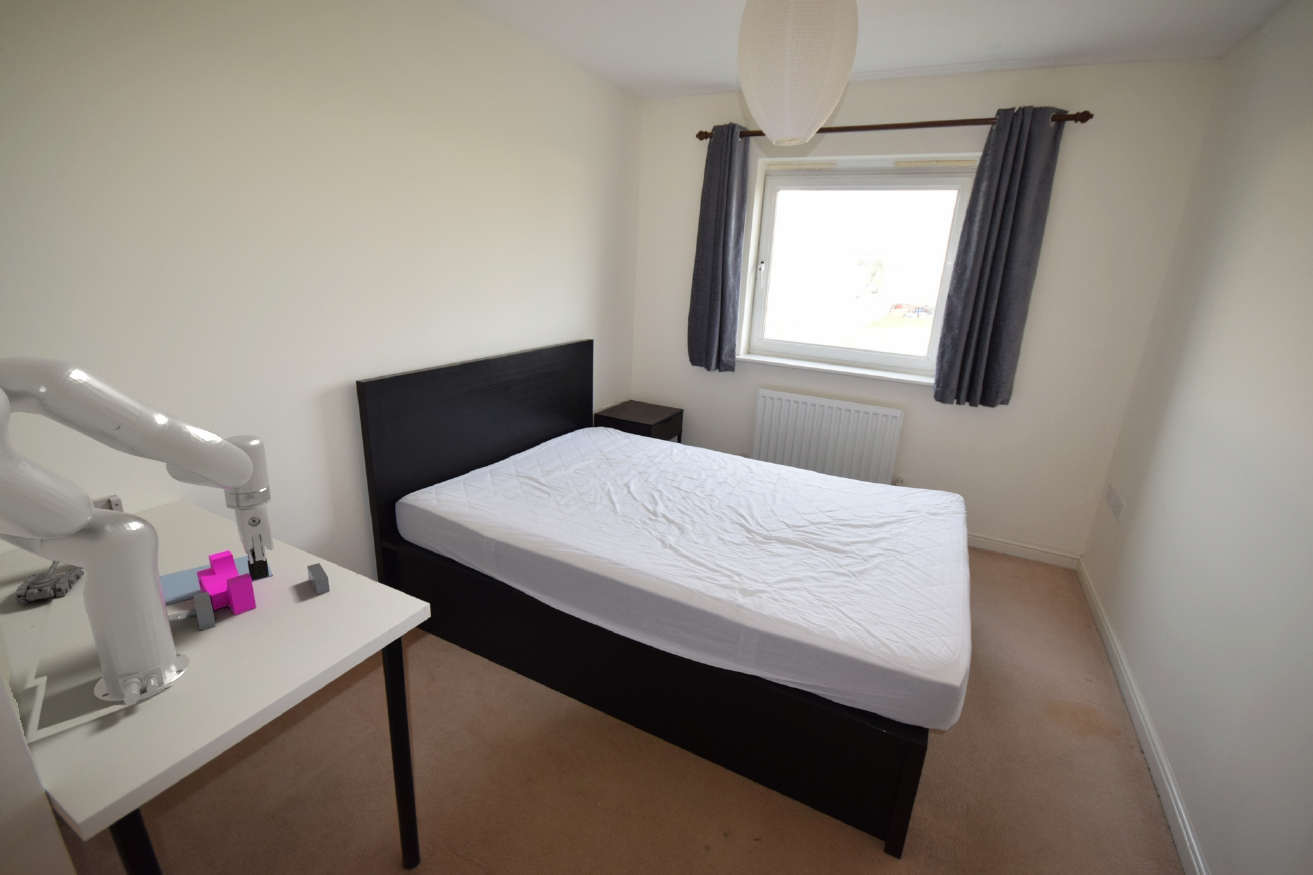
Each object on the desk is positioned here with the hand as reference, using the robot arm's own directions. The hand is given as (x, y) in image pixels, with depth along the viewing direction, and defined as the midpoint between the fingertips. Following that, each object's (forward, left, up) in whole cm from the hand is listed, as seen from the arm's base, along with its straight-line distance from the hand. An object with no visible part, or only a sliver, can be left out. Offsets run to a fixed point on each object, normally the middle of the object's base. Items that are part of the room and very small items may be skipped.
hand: (259, 576), depth 120 cm
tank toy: (+34, +34, -7) cm, 48 cm away
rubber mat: (+18, +8, -6) cm, 21 cm away
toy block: (+6, +6, -6) cm, 10 cm away
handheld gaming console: (+44, +26, -7) cm, 52 cm away
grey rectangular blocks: (0, 0, -6) cm, 6 cm away
